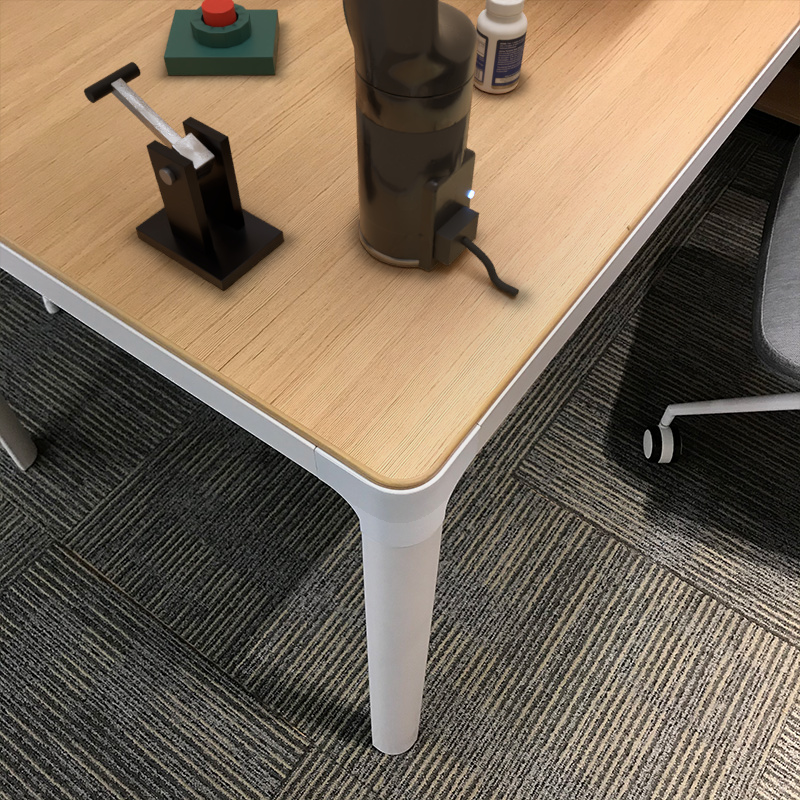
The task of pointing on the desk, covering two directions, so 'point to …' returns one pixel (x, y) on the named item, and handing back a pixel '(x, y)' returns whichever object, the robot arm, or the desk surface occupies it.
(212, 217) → the black lever mount
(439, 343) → the desk surface
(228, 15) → the button
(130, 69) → the lever
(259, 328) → the desk surface
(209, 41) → the control block
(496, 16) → the pill bottle
